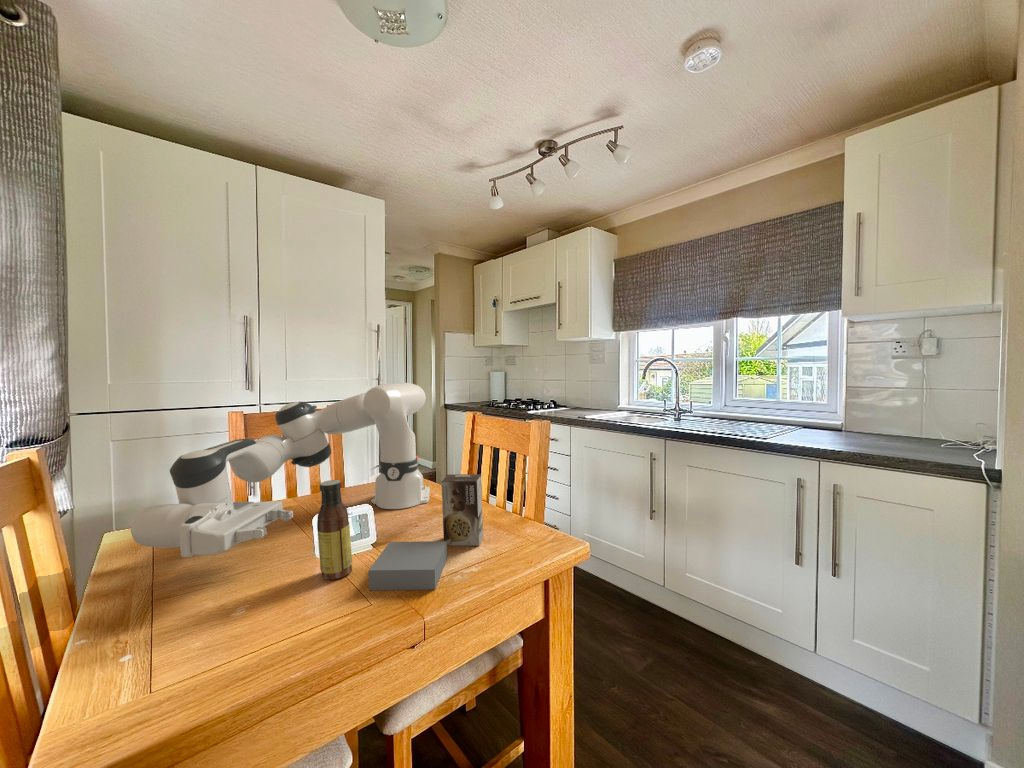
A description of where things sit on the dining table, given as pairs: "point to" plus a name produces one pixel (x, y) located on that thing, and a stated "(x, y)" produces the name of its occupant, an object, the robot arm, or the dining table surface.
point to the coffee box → (462, 509)
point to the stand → (408, 566)
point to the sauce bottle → (333, 533)
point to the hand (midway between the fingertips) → (278, 523)
